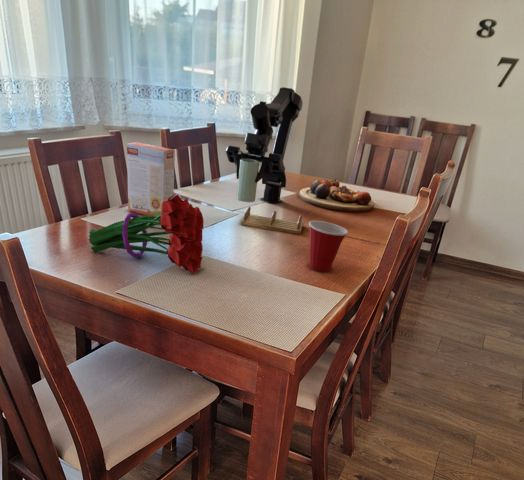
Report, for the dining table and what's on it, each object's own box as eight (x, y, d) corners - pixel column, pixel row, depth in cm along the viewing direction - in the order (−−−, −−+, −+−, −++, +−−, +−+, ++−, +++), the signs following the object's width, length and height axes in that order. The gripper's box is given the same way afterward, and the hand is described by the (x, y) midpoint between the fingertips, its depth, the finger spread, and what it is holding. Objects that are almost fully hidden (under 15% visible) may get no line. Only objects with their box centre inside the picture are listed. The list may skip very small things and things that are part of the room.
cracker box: (174, 217, 157) (176, 149, 146) (163, 220, 152) (164, 151, 142) (138, 207, 161) (138, 141, 151) (127, 210, 156) (126, 142, 146)
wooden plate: (389, 211, 201) (394, 191, 197) (333, 215, 184) (337, 193, 180) (338, 190, 223) (342, 172, 219) (284, 193, 206) (287, 173, 201)
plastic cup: (346, 275, 131) (355, 233, 125) (309, 275, 128) (318, 231, 122) (330, 260, 140) (338, 220, 134) (296, 260, 136) (303, 218, 130)
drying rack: (246, 216, 168) (247, 205, 166) (302, 226, 167) (304, 214, 164) (241, 224, 159) (242, 212, 157) (300, 234, 158) (302, 222, 156)
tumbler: (241, 196, 164) (244, 157, 158) (257, 199, 163) (262, 161, 156) (233, 199, 159) (237, 160, 153) (250, 203, 158) (255, 163, 151)
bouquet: (111, 262, 135) (213, 260, 128) (80, 283, 120) (193, 282, 114) (93, 190, 125) (201, 183, 119) (57, 204, 111) (178, 197, 105)
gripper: (230, 118, 154) (214, 158, 150) (285, 127, 150) (270, 169, 147) (236, 141, 165) (222, 180, 161) (288, 151, 161) (274, 191, 157)
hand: (246, 180), depth 156 cm, fingers closed on tumbler, 6 cm apart
